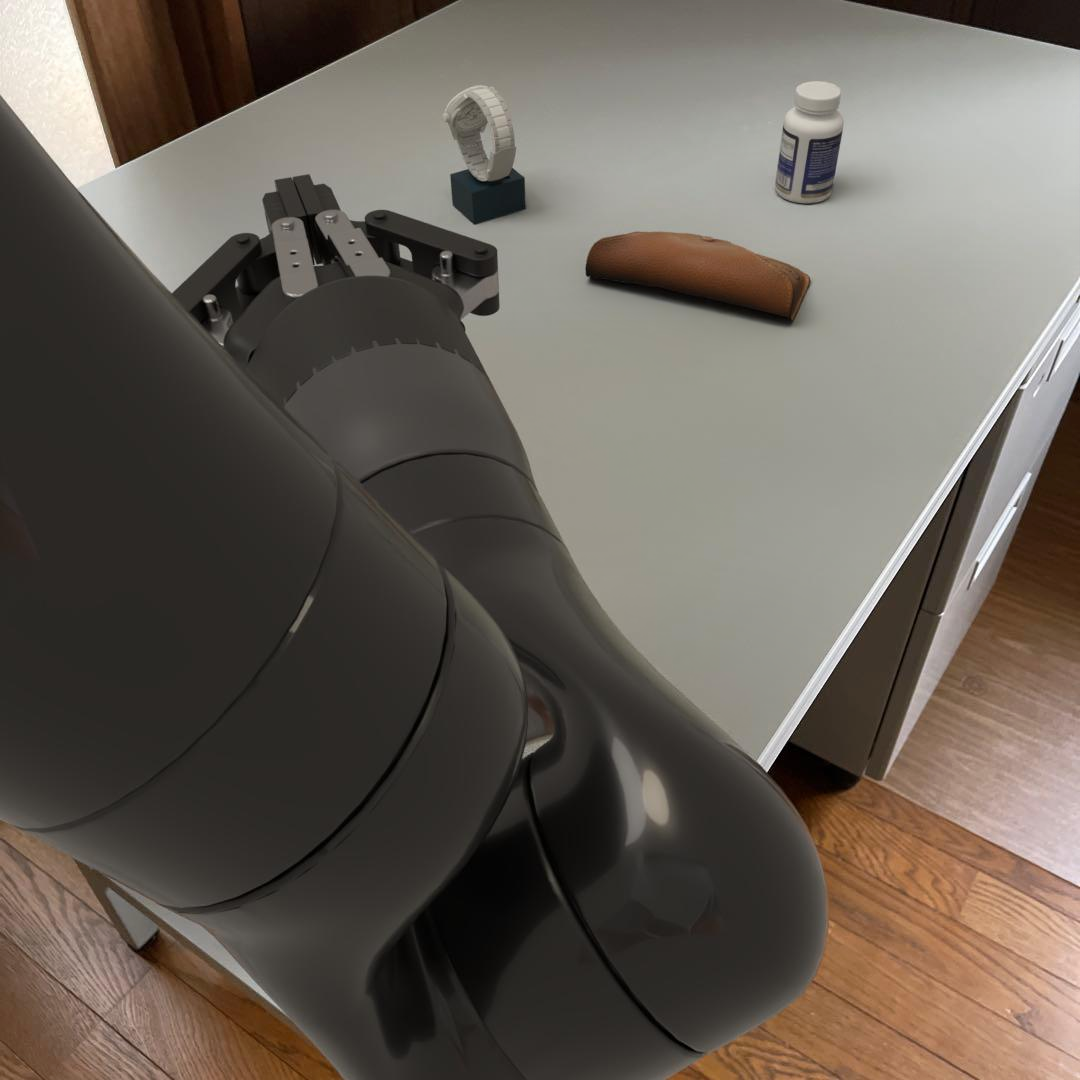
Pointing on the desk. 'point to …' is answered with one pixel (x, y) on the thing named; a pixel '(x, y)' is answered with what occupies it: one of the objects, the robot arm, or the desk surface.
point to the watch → (484, 156)
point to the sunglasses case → (700, 269)
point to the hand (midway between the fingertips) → (294, 197)
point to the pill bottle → (810, 144)
